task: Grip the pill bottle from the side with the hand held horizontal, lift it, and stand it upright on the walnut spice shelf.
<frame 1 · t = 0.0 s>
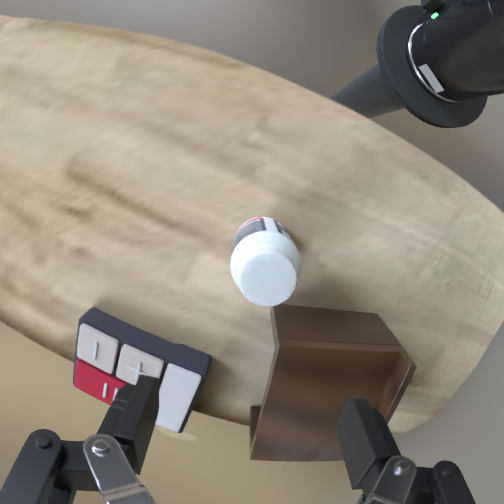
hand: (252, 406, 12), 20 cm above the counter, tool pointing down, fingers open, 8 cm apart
spice shelf: (310, 369, 35), on the counter
pill bottle: (262, 242, 31), on the counter
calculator: (140, 365, 35), on the counter
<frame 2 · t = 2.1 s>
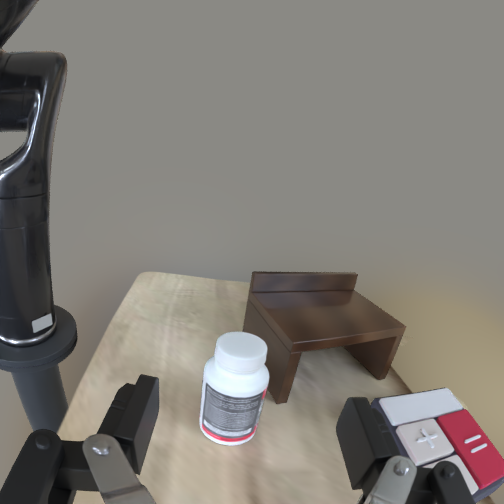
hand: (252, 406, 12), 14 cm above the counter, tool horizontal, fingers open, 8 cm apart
spice shelf: (313, 363, 39), on the counter
pill bottle: (227, 427, 26), on the counter
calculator: (428, 462, 22), on the counter
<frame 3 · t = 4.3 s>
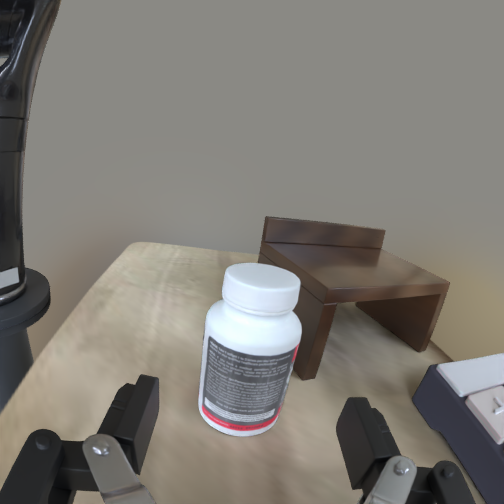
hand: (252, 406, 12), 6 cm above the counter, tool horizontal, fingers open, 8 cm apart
spice shelf: (340, 333, 32), on the counter
pill bottle: (237, 411, 19), on the counter
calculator: (496, 444, 15), on the counter
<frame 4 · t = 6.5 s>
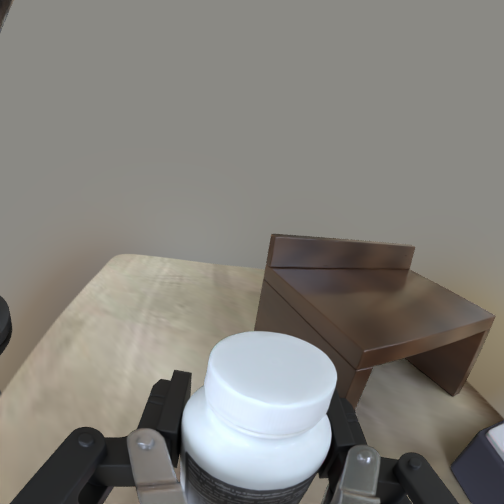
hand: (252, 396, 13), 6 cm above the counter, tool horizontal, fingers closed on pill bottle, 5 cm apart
spice shelf: (362, 378, 24), on the counter
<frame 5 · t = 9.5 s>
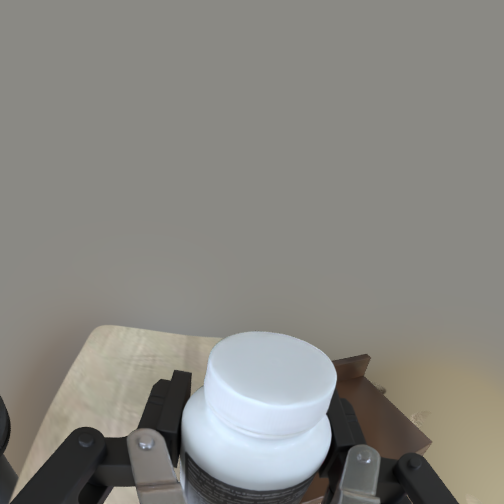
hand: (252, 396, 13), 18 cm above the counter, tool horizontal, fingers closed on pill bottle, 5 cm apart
spice shelf: (303, 477, 25), on the counter
when the fingers open (14 cm above the counter, at t = 12.6 s): pill bottle stays where it is, resting on spice shelf.
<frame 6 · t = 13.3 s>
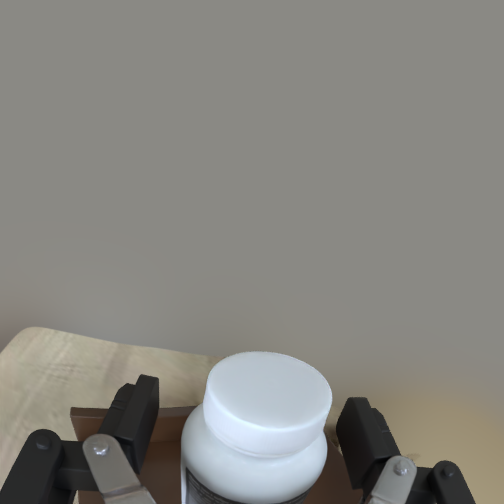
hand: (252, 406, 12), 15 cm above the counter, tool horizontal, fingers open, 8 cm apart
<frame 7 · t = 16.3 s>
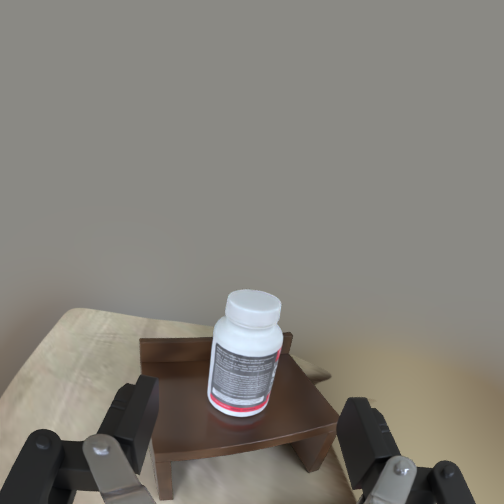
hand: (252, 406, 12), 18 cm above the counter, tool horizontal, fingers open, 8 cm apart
spice shelf: (226, 445, 28), on the counter
pill bottle: (237, 399, 26), point 8 cm above the counter, touching spice shelf
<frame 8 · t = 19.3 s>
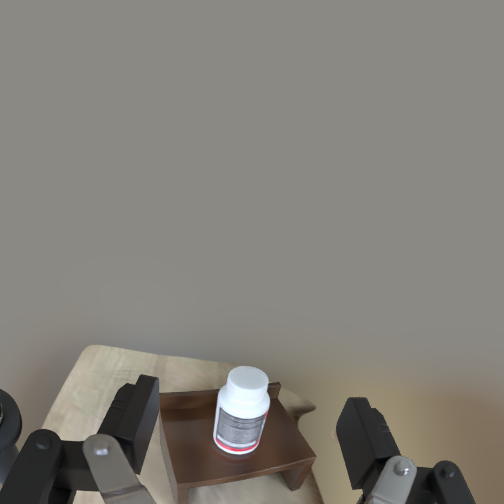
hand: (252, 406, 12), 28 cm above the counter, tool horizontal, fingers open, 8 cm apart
spice shelf: (227, 469, 35), on the counter
pill bottle: (235, 439, 32), point 8 cm above the counter, touching spice shelf
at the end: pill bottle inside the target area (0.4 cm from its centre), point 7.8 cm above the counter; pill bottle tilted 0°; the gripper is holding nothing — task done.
